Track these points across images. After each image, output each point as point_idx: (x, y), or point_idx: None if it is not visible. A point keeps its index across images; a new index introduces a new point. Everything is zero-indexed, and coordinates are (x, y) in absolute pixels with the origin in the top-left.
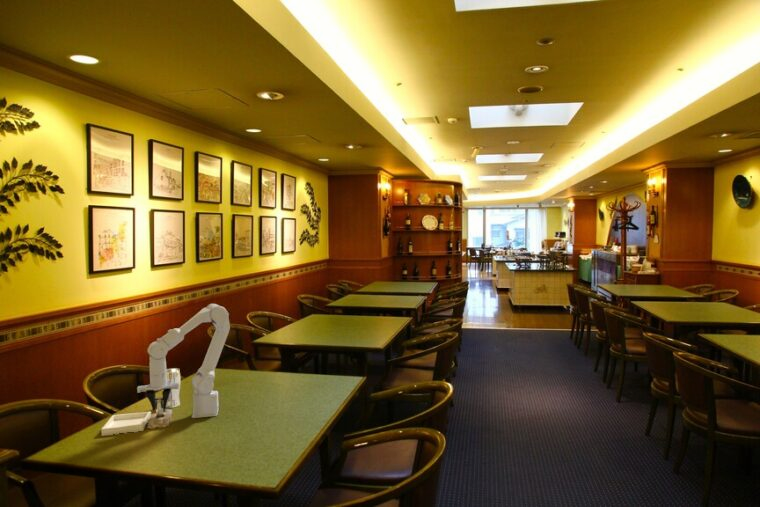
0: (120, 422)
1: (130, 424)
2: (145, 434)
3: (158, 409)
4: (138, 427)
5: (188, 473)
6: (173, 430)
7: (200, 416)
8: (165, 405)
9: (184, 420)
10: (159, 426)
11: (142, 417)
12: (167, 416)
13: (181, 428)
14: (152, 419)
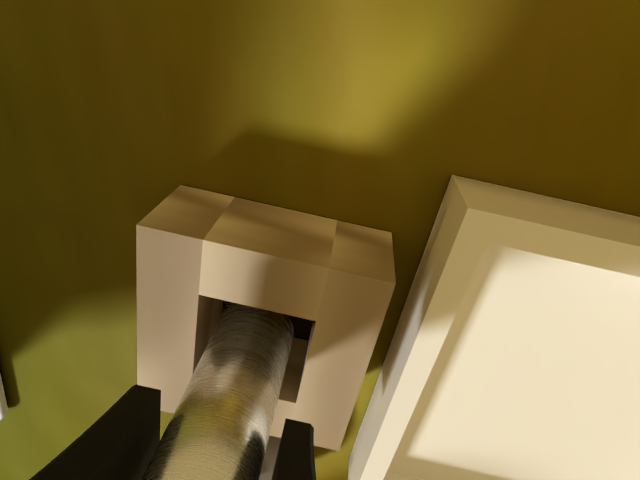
0: (623, 466)
1: (552, 383)
2: (431, 56)
3: (227, 408)
4: (513, 205)
5: None
6: (95, 20)
7: None
8: (88, 432)
9: (44, 268)
10: (267, 208)
11: (421, 473)
12: (154, 300)
13: (10, 43)
14: (332, 295)
